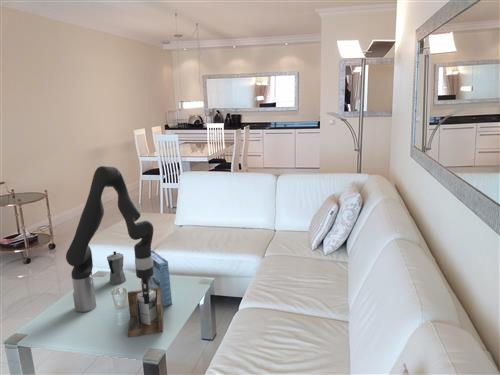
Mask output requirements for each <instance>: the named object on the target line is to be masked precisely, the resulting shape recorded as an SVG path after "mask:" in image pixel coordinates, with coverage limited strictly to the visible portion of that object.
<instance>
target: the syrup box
mask: <svg viewBox="0 0 500 375" xmlns="http://www.w3.org/2000/svg"><path fill="white" fill-rule="evenodd" d="M144 294H147V292H144ZM138 302H139V310H140V317H141V323H144V324H147V325H151V324H153V323H154V322H155V321H157V320H158V312H157V300H156V291H154V290H151V289H150V291H149V302H150V303H149V304H144V297H143V293H142V292H141V293H139V294H138Z"/></svg>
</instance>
